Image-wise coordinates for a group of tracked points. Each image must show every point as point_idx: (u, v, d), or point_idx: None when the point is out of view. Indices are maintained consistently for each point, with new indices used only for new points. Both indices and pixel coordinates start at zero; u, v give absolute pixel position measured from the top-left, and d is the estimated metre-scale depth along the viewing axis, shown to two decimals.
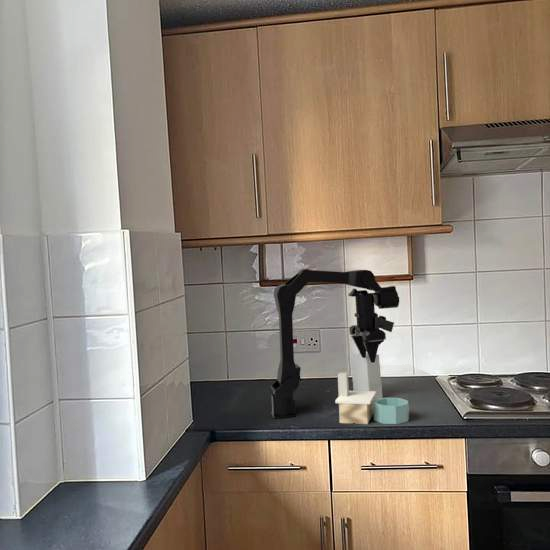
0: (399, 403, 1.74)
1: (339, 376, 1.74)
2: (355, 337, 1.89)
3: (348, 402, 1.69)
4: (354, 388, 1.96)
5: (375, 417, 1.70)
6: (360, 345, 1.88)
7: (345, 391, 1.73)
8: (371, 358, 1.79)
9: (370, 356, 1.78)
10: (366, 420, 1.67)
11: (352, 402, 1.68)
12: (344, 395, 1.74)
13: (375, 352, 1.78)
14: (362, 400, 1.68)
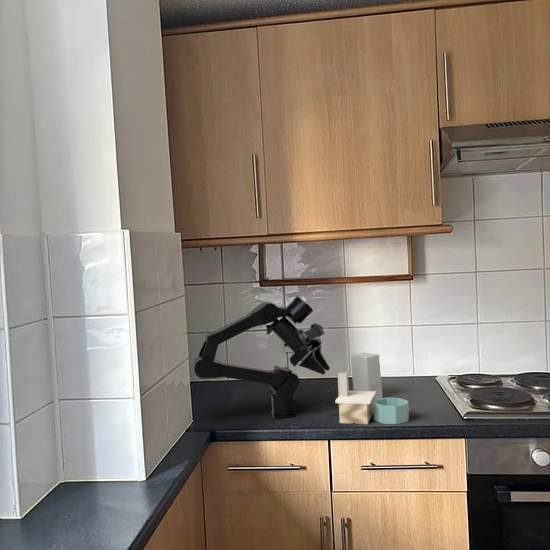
0: (399, 403, 1.74)
1: (339, 376, 1.74)
2: None
3: (348, 402, 1.69)
4: (354, 388, 1.96)
5: (375, 417, 1.70)
6: None
7: (345, 391, 1.73)
8: (319, 371, 1.73)
9: (317, 371, 1.73)
10: (366, 420, 1.67)
11: (352, 402, 1.68)
12: (344, 395, 1.74)
13: (317, 365, 1.73)
14: (362, 400, 1.68)
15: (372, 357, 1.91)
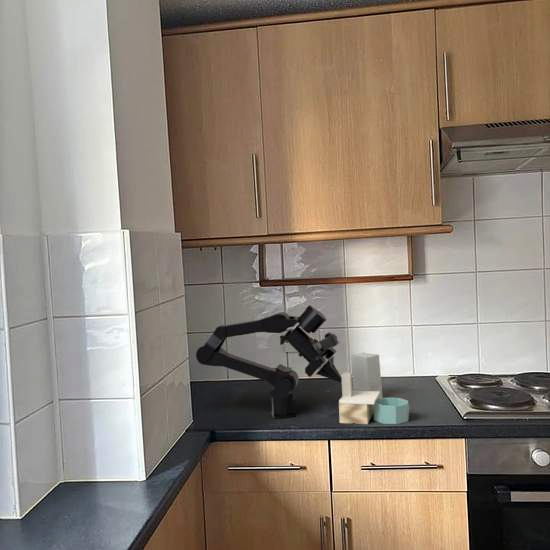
0: (399, 403, 1.74)
1: (343, 376, 1.73)
2: None
3: (352, 402, 1.68)
4: (354, 388, 1.96)
5: (375, 417, 1.70)
6: None
7: (349, 391, 1.73)
8: (336, 379, 1.75)
9: (334, 379, 1.75)
10: (366, 420, 1.67)
11: (356, 402, 1.68)
12: (348, 395, 1.73)
13: (334, 373, 1.74)
14: (366, 400, 1.68)
15: (372, 357, 1.91)
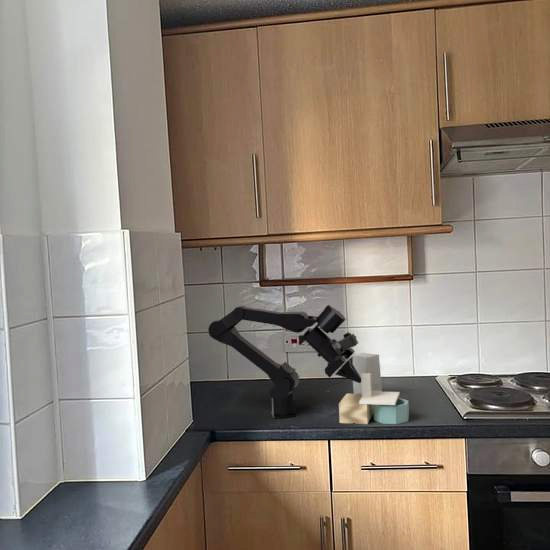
0: (399, 403, 1.74)
1: (362, 376, 1.72)
2: None
3: (372, 403, 1.66)
4: (354, 388, 1.96)
5: (375, 417, 1.70)
6: None
7: (369, 392, 1.71)
8: (356, 380, 1.73)
9: (353, 379, 1.73)
10: (366, 420, 1.67)
11: (376, 403, 1.66)
12: (368, 396, 1.71)
13: (353, 373, 1.72)
14: (387, 401, 1.66)
15: (372, 357, 1.91)
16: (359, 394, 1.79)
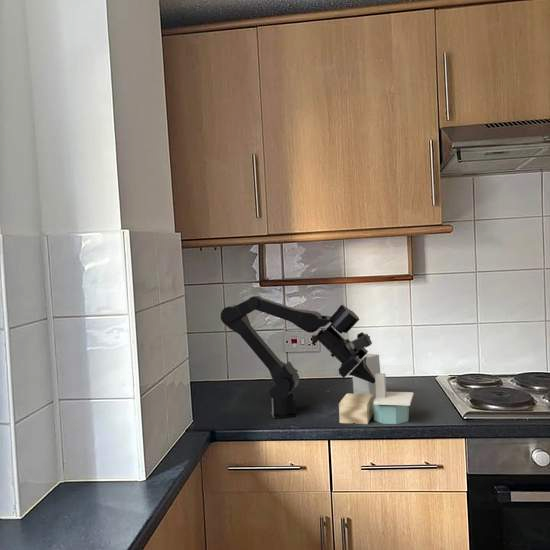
0: None
1: (377, 377, 1.70)
2: None
3: (387, 403, 1.65)
4: (354, 388, 1.96)
5: (375, 417, 1.70)
6: None
7: (383, 392, 1.70)
8: (369, 380, 1.72)
9: (367, 380, 1.72)
10: (366, 420, 1.67)
11: (391, 403, 1.65)
12: (382, 396, 1.70)
13: (367, 373, 1.71)
14: (401, 401, 1.65)
15: (372, 357, 1.91)
16: (359, 394, 1.79)
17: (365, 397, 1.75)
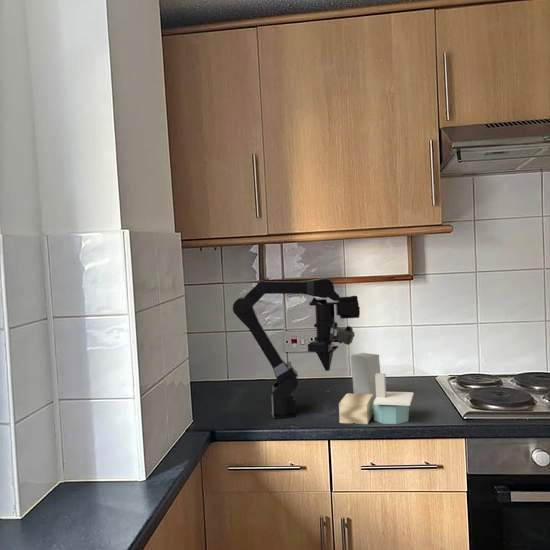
0: None
1: (377, 377, 1.70)
2: None
3: (387, 403, 1.65)
4: (354, 388, 1.96)
5: (375, 417, 1.70)
6: None
7: (383, 392, 1.70)
8: (324, 366, 1.80)
9: (323, 364, 1.79)
10: (366, 420, 1.67)
11: (391, 403, 1.65)
12: (382, 396, 1.70)
13: (327, 361, 1.79)
14: (401, 401, 1.65)
15: (372, 357, 1.91)
16: (359, 394, 1.79)
17: (365, 397, 1.75)
